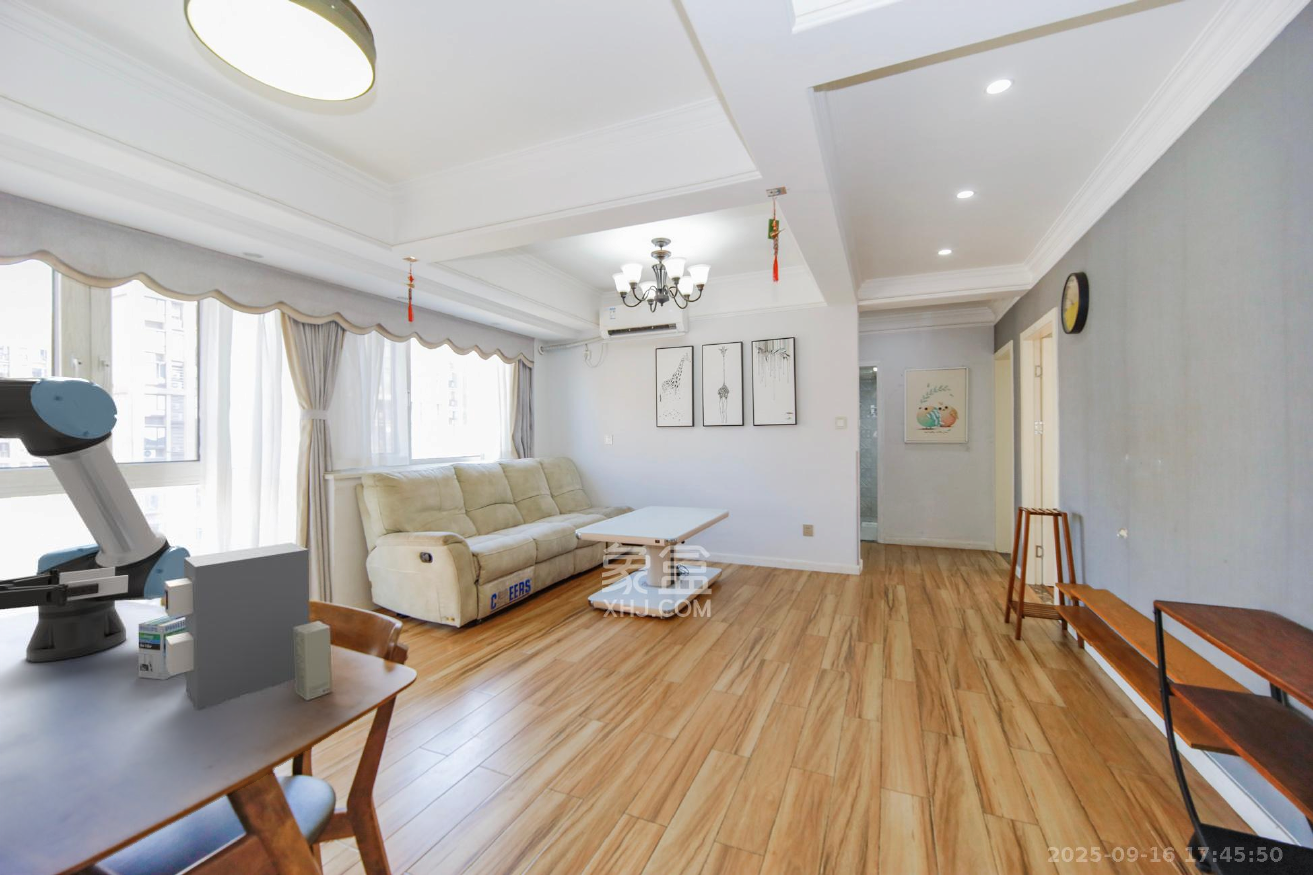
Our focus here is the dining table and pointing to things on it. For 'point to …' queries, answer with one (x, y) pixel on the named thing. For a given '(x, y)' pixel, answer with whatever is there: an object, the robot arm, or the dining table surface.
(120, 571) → the robot arm
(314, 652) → the skincare box
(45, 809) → the dining table surface
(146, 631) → the light bulb box
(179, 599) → the white protruding block
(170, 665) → the plain button
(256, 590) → the grey upright slab
